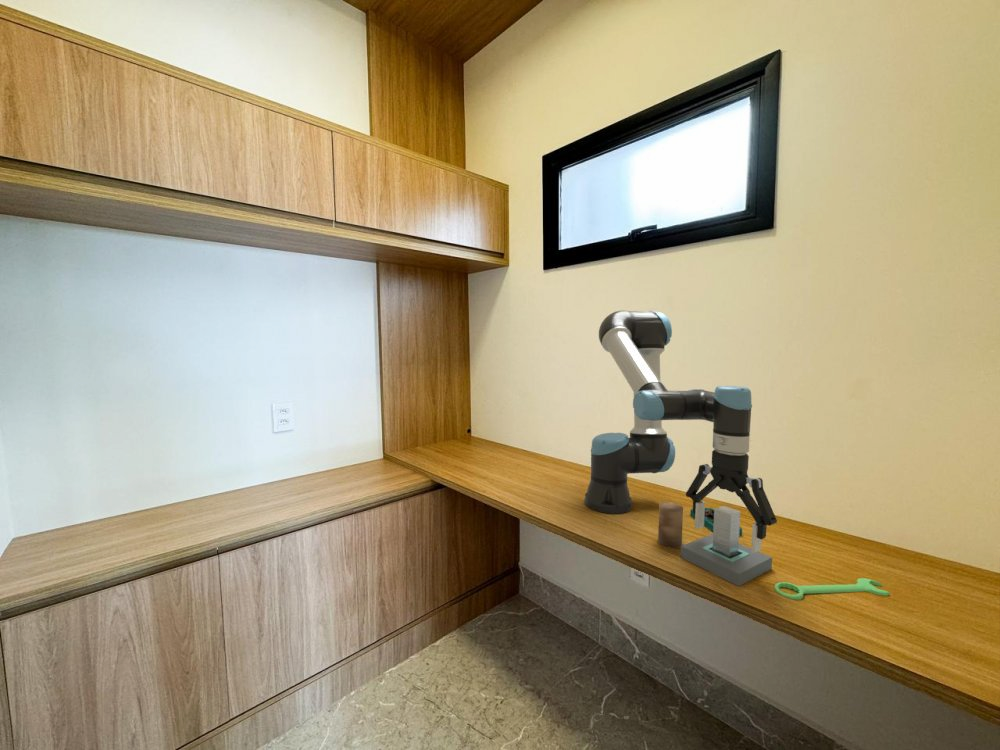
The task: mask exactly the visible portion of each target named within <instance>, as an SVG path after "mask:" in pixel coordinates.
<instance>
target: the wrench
mask: <svg viewBox="0 0 1000 750" xmlns="http://www.w3.org/2000/svg"><path fill="white" fill-rule="evenodd" d="M876 586H878V587H882V586H883V584H882V583H881V582H879V581H876V580H875V579H870V578H865V577H863V578H861V577H860V578H857V580H856V584H855V583H853V584H850V583H848V584H821V585H820V584H818V585H816V584H815V585H811V584H810V585H796V584H794V583H791V582H787V581H786V582H785V581H784V582H783V581H780V582H777V583H775V585H774V591H775V590H776V591H775V592H776V593H778V594H779V595H780V596H782V597H785V598H787V599H790V600H794V601H795V600H797V601H798V600H800V601H801V600H802V599H803V598H804V595H805V594H806V595H808V594H835V593H836V594H837V593H838V594H839V593H840V594H841V593H861V592H868V593H871V594H874V595H878V596H885V597H886V596H889V595H890V592H889V591H888V590H885V589H879V588H877V587H876ZM781 588H785V589H786V588H787V589H790V590H793V591H795V592H797V593H796V594H795V593H793V594H790V593H785V592H784V591H782V590H781Z"/></svg>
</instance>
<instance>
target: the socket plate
mask: <svg viewBox="0 0 1000 750" xmlns="http://www.w3.org/2000/svg"><path fill="white" fill-rule="evenodd" d="M712 549H713V533H711V534H709V535H707V536H704V537H701V538H698V539H696V540H694V541H691V542H688V543H685V544H682V546H681V547H680V558H681V559H684V560H686V561H688V562H690V563H691V564H694V565H696V566H698V567H699V568H701V569H704V570H705V571H708V572H710V573H711V574H714V575H716V576H718V577H720V578H722V579H724V580H725V581H727V582H729V583H731V584H733V585H735V586H737V587H739V586H742V585H744V584H745V583H748V582H749V581H752V580H753V579H755V578H757V577H759V576H761V575H763V574H764V573H765V574H766V573H767V572H769V571H770V570H772V568H773V566H772V565H773V556H770V555H767V554H765V553H762V552H761V551H758V552H756V553H753V552H751V548H750V547H748V546H746V545H744V544H741V543H739V550H738V556H735V557H733V558H731V559H730V558H728V557H725V556H723V555H721V554H719V553H717V552H714V551H712Z"/></svg>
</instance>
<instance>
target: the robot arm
mask: <svg viewBox="0 0 1000 750" xmlns="http://www.w3.org/2000/svg"><path fill="white" fill-rule="evenodd" d="M598 328H599V329H598V340H599V342H600V345H601V346H602V349H604V351H606V352H607V353H609V354H610V355H611V357H612V359H613V360H614V362H615V364H616V365H617V367H618V368H619V370H620V372H621V373H622V375H623V376H624V379H625V380H626V382H627V384H628V385H629V386H630V389H631V391H632V392H633V400H632V408H633V419H634V421H633V425H634V427H633V428H632V429H630V431H629V435H628V434H626V433H624V432H623V433H622V432H607V433H601V434H597V435H596V436H594V437H593V438H592V440H591V447H590V456H591V457H590V481H589V482H588V483H589V484H588V486H587V489H586V493H585V494H584V504H585V506H586V507H587V508H589V509H591V510H593V511H596V512H600V513H604V514H612V515H615V514H625V513H628V512H630V511H632V509H633V499H632V497H631V495H630V490H629V486H628V474H629V475H630V474H646V473H647V474H658V473H665V472H667V471H669V470H670V468H672V466H673V464H674V463H675V459H676V447H675V445H674V441H673V440H672V438H670V437H669V436H668V434H667V433H668V432H667V431H666V430H665V429H664V428H663V427H662V426H663V425H662V421H677V420H679V421H686V420H687V421H690V420H691V421H694V420H695V421H696V420H698V421H705V422H706V421H707V422H710V423H713V425H712V426H713V428H712V449H713V450H712V451H711V465H712V466H710V465H709V464H708V463H704V464H700V465H699V466H698V470H697V471H698V472H697V474H696V476H695V477H694V479H693V480H692V483H691V484H690V486H689V488H687V491H686V493H685V496H686V497H687V498H690V499H691V500H692V509H693V513H695V518H694V529H697V530H698V529H701V528H704V527H705V525H704V514H705V508H706V504H705V503H706V501H704V498H705V497H707V496H708V495H709V494H710V493H712V492H713V491H715V490H716V489H717V488H719V489H721V490H726V491H728V492H730V493H735V494H736V496H737V497H739V498H740V500H741V501H742V503H743V504H744V506H745V507H746V509H747V511H748V512H749V514H750V515H751V517H752V518H753V519H754V521H755V522H753V523H752V525H751V526H752V528H751V546H750V547H751V552H753V553H756V552H761V551H762V540H764V539H766V537H767V526H772V525H774V524H777V523H778V520H777V518H776V515H775V513H774V511H773V508H772V506H771V503H770V501H769V499H768V496H767V494H766V492H765V490H764V483H763V481H764V480H763V479H762V477H757V478H754V477H749V476H748V475H749V474H748V470H749V455H748V453H749V452H750V436H751V434H750V432H751V417H752V407H753V404H752V391H751V389H749V388H748V387H746V386H736V385H718V386H716V387H715V389H714V391H709V390H705V389H696V388H695V389H694V388H693V389H688V390H668V389H667V388H666V387H665V384H664V383H662V381H661V354H662V353H663V352H664V351H665V346H667V345H669V343H670V342H671V338H672V337H673V329H672V324H671V320H670V319H669V317H668V316H667V315H666V314H664V313H663V312H660V311H653V310H617V311H614V312H612V313H610V314H609V315H607V316H606V317H605V318H603V321H602V322H601V324H600V326H599V327H598ZM709 474H710V475H711V477H712V480H710V481H709V482H708V483H707V485H705V486H704V487H703V488H702V489H701V490H700V488H701V486H702V485H703V483H704V482H705V480H706V479H707V477H708V475H709ZM747 484H749V488H751V491H752V493H753V496H754V497H753V496H752V495H751V491H750V490H749V488H748V487H747ZM699 490H700V491H699Z"/></svg>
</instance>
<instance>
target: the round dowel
mask: <svg viewBox="0 0 1000 750" xmlns="http://www.w3.org/2000/svg"><path fill="white" fill-rule="evenodd" d="M658 506H659V508H658V530H657V531H658V533H657V542H658V544H660V545H661V546H662V547H665V548H668V549H681V546H682V545H683V543H682V542H683V523H684V522H683V521H684V520H683V519H684V507H683V506H682V505H681V504H678V503H677V502H676V503H675V502H671V501H662V502H660V503H659V505H658Z"/></svg>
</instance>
